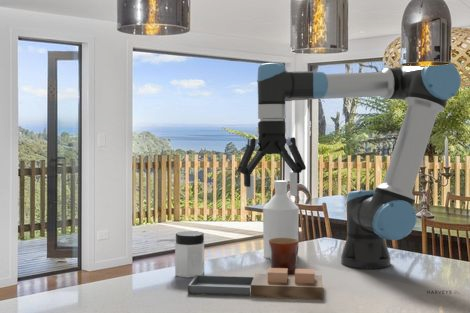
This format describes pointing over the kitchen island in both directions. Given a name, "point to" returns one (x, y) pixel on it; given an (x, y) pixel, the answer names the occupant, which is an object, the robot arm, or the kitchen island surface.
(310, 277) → the tile
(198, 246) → the jar
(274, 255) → the mug
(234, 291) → the tray
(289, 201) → the bottle
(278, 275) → the tile
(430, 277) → the kitchen island surface
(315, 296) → the board
